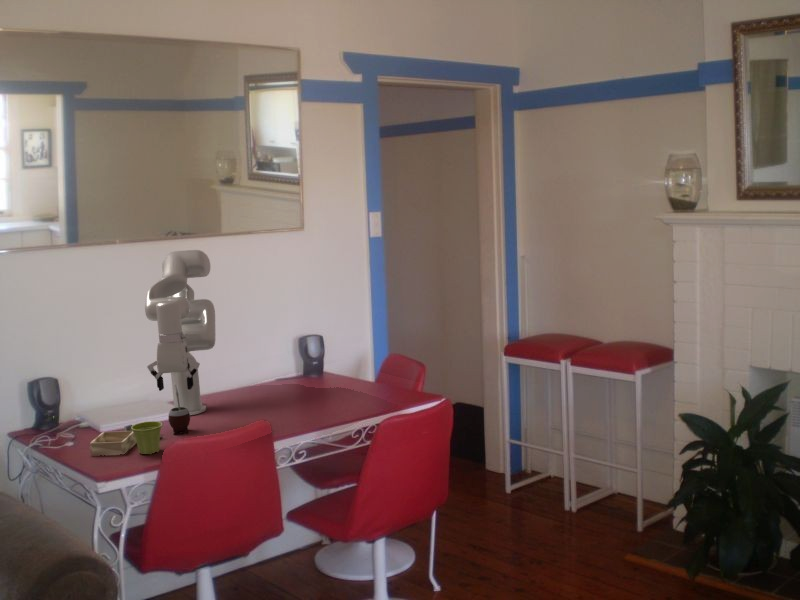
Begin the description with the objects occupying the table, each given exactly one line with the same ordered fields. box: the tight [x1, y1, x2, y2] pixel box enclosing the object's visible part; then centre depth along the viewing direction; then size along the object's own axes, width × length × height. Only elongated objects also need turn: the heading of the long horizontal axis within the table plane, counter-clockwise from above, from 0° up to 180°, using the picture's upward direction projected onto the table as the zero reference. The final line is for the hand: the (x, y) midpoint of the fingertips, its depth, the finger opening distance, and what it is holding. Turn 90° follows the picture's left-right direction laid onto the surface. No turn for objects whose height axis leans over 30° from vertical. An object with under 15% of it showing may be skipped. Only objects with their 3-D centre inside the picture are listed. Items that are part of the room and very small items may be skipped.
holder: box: [89, 430, 137, 457], centre depth 300 cm, size 12×11×4 cm
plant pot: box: [131, 420, 163, 455], centre depth 295 cm, size 9×9×9 cm
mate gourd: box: [168, 385, 191, 436], centre depth 314 cm, size 8×8×15 cm
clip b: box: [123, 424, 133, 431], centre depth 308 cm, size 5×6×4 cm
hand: (175, 389), depth 312 cm, fingers open, 9 cm apart
